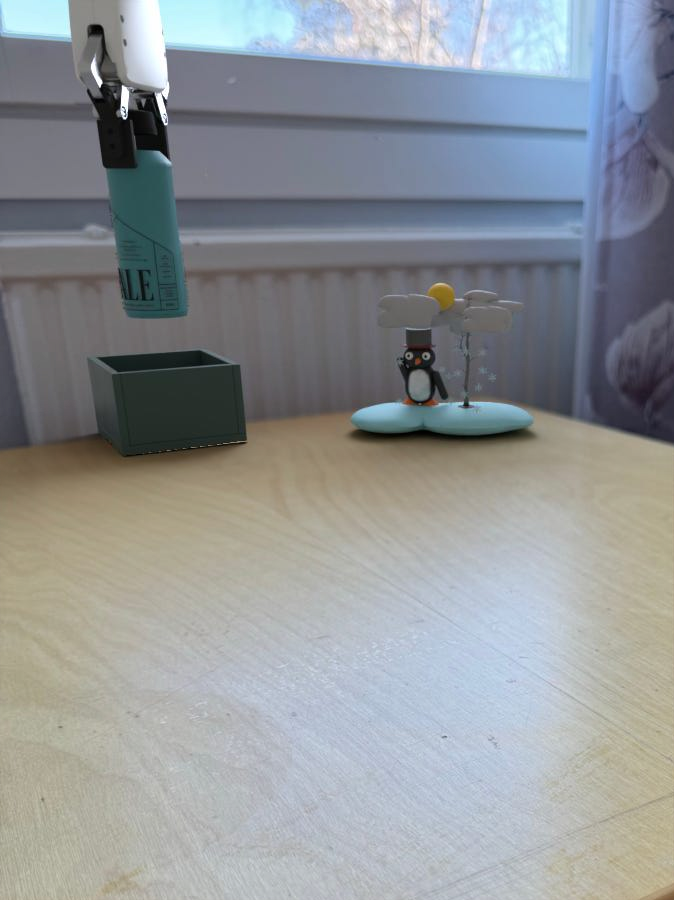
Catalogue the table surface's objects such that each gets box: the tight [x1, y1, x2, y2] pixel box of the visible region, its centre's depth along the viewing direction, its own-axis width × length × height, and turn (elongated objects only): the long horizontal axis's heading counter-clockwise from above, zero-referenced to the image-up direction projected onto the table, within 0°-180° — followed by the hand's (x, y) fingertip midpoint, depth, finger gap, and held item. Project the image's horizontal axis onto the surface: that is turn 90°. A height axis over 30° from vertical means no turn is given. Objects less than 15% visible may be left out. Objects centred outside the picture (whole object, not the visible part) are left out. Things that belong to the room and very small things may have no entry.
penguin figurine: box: [350, 282, 535, 436], centre depth 107 cm, size 20×11×15 cm, turn 87°
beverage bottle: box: [105, 108, 190, 320], centre depth 98 cm, size 6×7×20 cm
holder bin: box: [86, 348, 248, 457], centre depth 105 cm, size 13×13×8 cm
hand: (138, 167), depth 95 cm, fingers closed on beverage bottle, 6 cm apart
